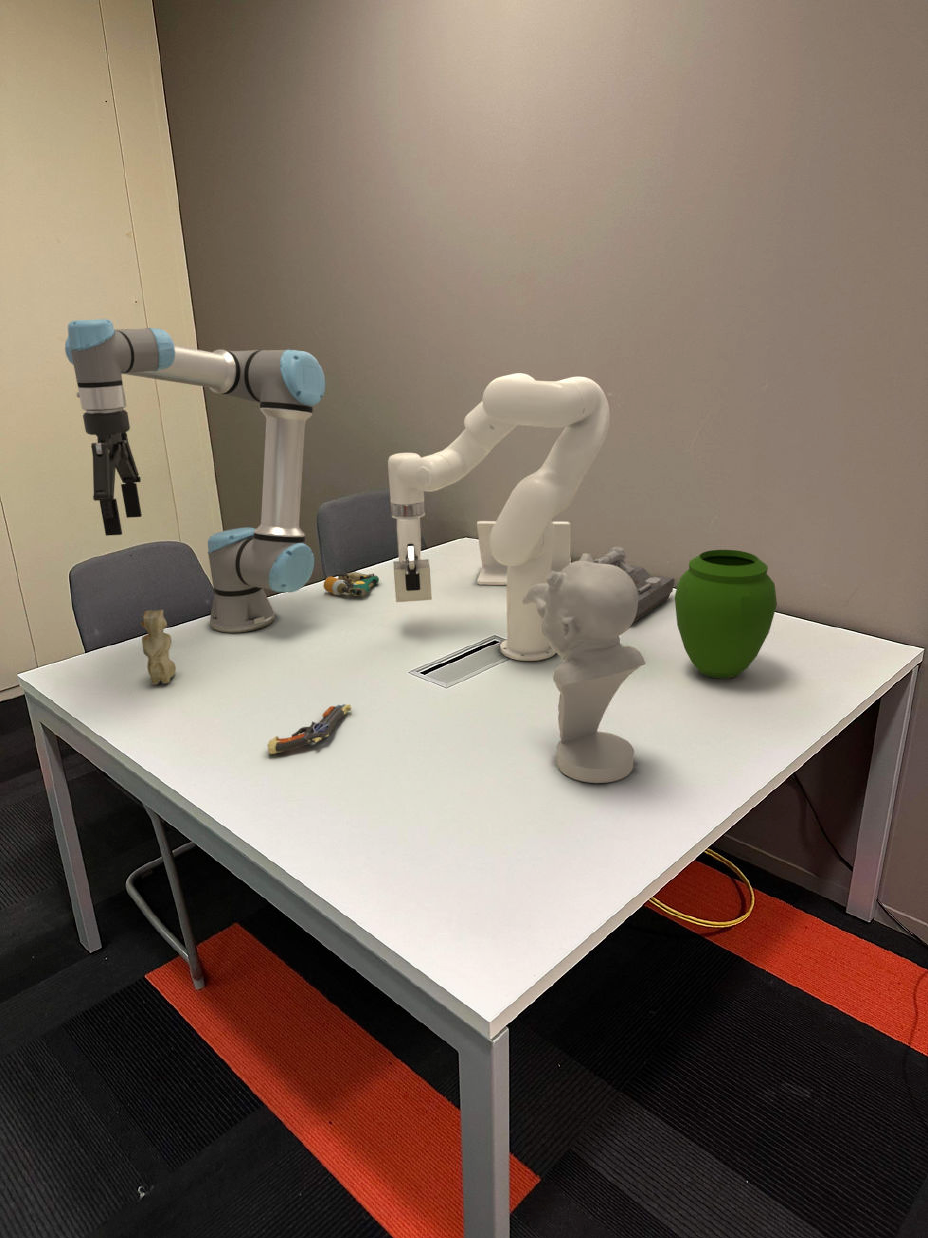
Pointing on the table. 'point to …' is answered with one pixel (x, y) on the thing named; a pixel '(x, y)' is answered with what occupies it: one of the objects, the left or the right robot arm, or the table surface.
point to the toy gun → (310, 731)
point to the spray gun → (350, 583)
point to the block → (400, 582)
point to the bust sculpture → (589, 662)
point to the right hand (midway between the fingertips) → (412, 584)
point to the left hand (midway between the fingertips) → (124, 525)
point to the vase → (724, 611)
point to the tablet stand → (498, 572)
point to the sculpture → (157, 647)
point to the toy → (641, 582)
